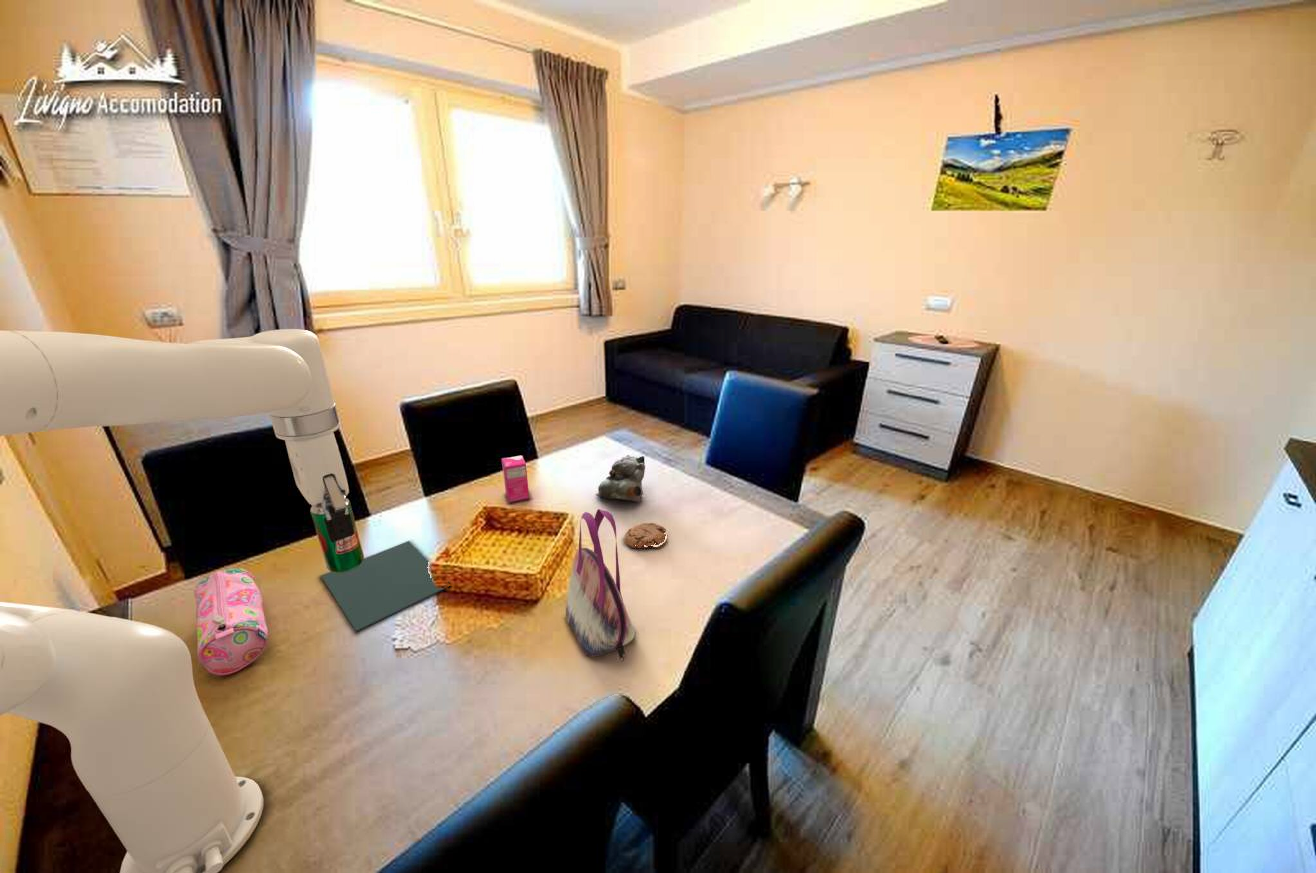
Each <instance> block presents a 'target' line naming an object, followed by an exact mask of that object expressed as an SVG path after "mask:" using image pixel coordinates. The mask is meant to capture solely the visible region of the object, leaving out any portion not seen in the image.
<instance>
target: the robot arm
mask: <svg viewBox="0 0 1316 873" xmlns="http://www.w3.org/2000/svg"><path fill="white" fill-rule="evenodd" d="M324 358H325V357H324V355H323V350H322V347H321V343H320V340H319V338H318V337H317V336H316V334H315V333H313V332H312V331H310V330H306V329H301V328H285V329H284V328H283V329H282V328H281V329H273V330H265V331H262V332H261V331H260V332H258V333H255V334H253V335H252V336H245V337H243V336H242V337H233V338H232V337H231V338H218V339H217V338H216V339H215V338H213V339H203V340H197V341H193V342H190V343H180V342H167V341H166V342H165V341H156V340H144V339H136V338H128V337H120V336H112V335H102V334H96V333H95V334H93V333H82V332H81V333H80V332H69V331H68V332H67V331H50V330H49V331H48V330H47V331H45V330H7V329H6V330H0V437H4V436H13V435H14V436H15V435H21V434H30V433H39V432H50V431H58V430H67V429H68V430H69V429H79V428H90V427H116V426H117V427H118V426H119V427H121V426H133V425H134V426H135V425H144V424H145V425H146V424H154V423H167V422H181V421H198V420H212V419H225V418H236V417H244V416H251V415H260V414H268V415H269V418H270V421H271V426H272V428H273V432H274V435H275V437H276V439H279V440H283V441H284V442H285V446H286V451H287V454H288V459H289V463H290V467H291V471H292V473H293V479H294V481H295V485H296V487H297V488H298V490H299V492H300V493H301V495H302V497H304V499H305V500H306V502H307V503H308V504H309V505H311V506H312V505H313V506H316V505H317V504H319V503H321V505H322V508H323V511H324V514H325V517H326V518H325V519H324V522H325V526H326V529H327V533H328V536H329V539H330V541H331V542H336V541H338V540H341V539H344V538H347V537H349V536H352V535H354V533H355V532H354V528H353V524H352V520H351V517H350V513H349V511H348V508H347V505H346V502H345V499H344V496H346V497H347V496H348V494H349V493H350V489H349V484H348V478H347V474H346V471H345V468H344V464H343V463H344V462H343V459H342V456H341V452H340V450H339V445H338V443H337V440H336V437H335V433H334V432H336V431H338V429H340V427H341V421H340V418H339V414H338V410H337V407H336V402H335V398H334V394H333V390H332V386H331V382H330V379H329V374H328V370H327V366H326V362H325V359H324ZM326 494H328V495H329V497H328V498H323V497H324V495H326ZM343 495H344V496H343ZM329 502H332V506H331V507H330V508H329V509H328V506H327V503H329ZM4 714H9V715H12V716H17V717H21V718H25V719H26V720H28V721H33V722H37V723H40V724H44V725H47V726H51V727H52V728H55V729H56V730H57V731H59V732H61V733H62V734H63V735H64V736H66V738H67V739H68V741H69V744H70V749H71V750H70V759H71V764H72V767H73V770H74V771H75V774H76V776H77V777H78V779H79V781H80V782H81V783H82V785H83V786H84V789H85V790H86V791H87V792H88V793H89V795H90V797H91V798H92V799H93V802H95V804H96V805H97V807H98V809H99V810H100V812H101V813H102V815H103V816H104V818H105V819H106V820H107V822H108V824H109V825H110V827H111V828H112V830H113V832H114V833H115V835H116V836H117V838H118V839H119V841H120V843H122V845H123V847H124V848H125V849H126V853H125V855H124V857H123V860H122V861H121V866H120V870H119V873H219V872H220V871H222V870H223V867H224V866H225V865H226V864H227V863H228V862H229V861H231V859H233V857H235V855H236V854H237V853H238V852H239V851H240V850H241V849H242V848H243V847H244V845H245V844H246V842H247V841H248V840H249V839H250V838H251V836H252V835H253V832H254V831H255V829H256V828H257V826H258V823H259V821H260V820H261V817H262V813H263V810H264V795H263V792H262V789H261V788H260V786H259V784H258V783H257V782H255V780H253V779H251V778H248V777H245V776H235V773H234V772H233V769H232V768H231V765H230V763H229V761H228V759H227V756H226V755H225V752H224V750H223V749H222V748H223V747H222V746H221V744H220V742H219V740H218V737H217V735H216V733H215V731H214V728H213V727H212V724H211V722H210V720H209V719H208V716H207V714H206V712H205V710H204V708H203V705H202V703H201V701H200V698H199V695H198V693H197V689H196V685H195V681H194V675H193V662H192V657H191V652H190V650H189V648H188V646H187V644H186V642H184V640H182V639H181V637H179V636H178V635H176V634H175V633H173V632H171V631H170V630H168V629H165V628H163V627H160V626H157V625H154V624H150V623H146V622H142V621H136V620H132V619H125V618H120V617H116V616H107V615H103V614H99V613H98V614H97V613H92V612H87V611H81V610H76V609H69V608H63V607H62V608H61V607H54V606H53V607H52V606H45V605H44V606H43V605H35V604H25V603H17V602H6V601H0V716H2V715H4Z"/></svg>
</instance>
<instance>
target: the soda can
mask: <svg viewBox="0 0 1316 873" xmlns="http://www.w3.org/2000/svg"><path fill="white" fill-rule="evenodd" d="M343 496H344V495H343ZM328 497H329V495H328V494H326V495H324V497H323V498H328ZM344 499H345V502H346V505H347V508H348V511H349V513H350V517H351V520H352V524H353V528H354V532H355V533H354V535H352V536H349V537H347V538H344V539H341V540H338V541H336V542H331V541H330V539H329V536H328V533H327V529H326V526H325V522H324V519H325V518H326V517H325V514H324V511H323V508H322V505H321V503H319V504H317V505H316V506H313V505H311V507H310V509H309V512H310V517H311V519H312V522H313V526H314V529H315V533H316V536H317V539H318V543H319V546H320V549H321V552H322V555H323V558H324V561H325V566H326V569H327V570H328V571H329V572H331V571H332V572H335V573H344V572H348V571H351V570H353V569H355V568H357V567H358V566H359V565H360V564H361V563H362V561H363V559H364V558H365V554H364V551H363V546H362V543H361V540H360V535H359V532H358V528H357V524H356V520H355V515H354V513H353V510H352V509H353V508H352V505H351V501H350V500H349V498H347V496H344ZM327 506H328V509H329V508H330V507H331V506H332V502H329V503H327Z"/></svg>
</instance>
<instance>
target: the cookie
mask: <svg viewBox="0 0 1316 873" xmlns="http://www.w3.org/2000/svg"><path fill="white" fill-rule="evenodd" d="M665 532H666V534H667V528H666V527H664V526H663V525H661V524H657V523H656V522H655V523H654V522H643V523H640V524H636V525H634V526H633V527H631V528H628V529H627V530H626V532H625V534H624V538H625V539H624V541H625V544H626V545H627V546H629V547H630V548H633V549H647V548H649V547H644V545H646V546H651V545H654V544H655V543H656V544H655V545H659V544H660V543H662V542H664V540H665V536H666V534H664V533H665ZM668 539H669V537H668V538H667V540H666V542H665V543H664V544H662V545H660V546H658V547H653V546H652V547H651V548H654V549H659V548H661V547H663V545H665V544H666V543H667V542H668ZM635 545H636V546H635Z"/></svg>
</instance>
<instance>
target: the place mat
mask: <svg viewBox="0 0 1316 873" xmlns="http://www.w3.org/2000/svg"><path fill="white" fill-rule="evenodd" d="M428 562H430V561H429V560H428V559H427V558H426V557H425V556H424V555H423V554H422V553H421V552H420V551H419V550H418V549H417V548H416V547H415V546H414V544H412V543H411V541H409V540H407V541H405V542H402V543H400V544H398V545H395V546H391V547H390V548H388V549H385V550H382V551H380V552H378V553H377V552H376V553H375V554H372V555H369V556H367V557H364V559H363V561H362V563H361V564H360V565H359V566H358V567H357V568H355V569H353V570H351V571H348V572H344V573H335V572H332V571H329V572H327V573H324V574H322V575H320V578H321V579H322V581H323V582H324V584H325V586H326V587H327V588H328V591H329V592H330V594H331V596H332V597H333V599H334V600H335V602H336V603H337V604H338V606H339V607H340V609H341V610H342V612H343V614H344V615H345V617H346V618H347V620H348V622H349V623H350V625H351V627H353V630H354V631H355V632H356V633H359V632H361V631H363V630H364V629H367V628H369V627H370V626H373V625H375V624H378V623H379V622H381V621H383V620H385V619H387V618H389V617H391V616H393V615H395V614H397V613H400V612H402V611H403V610H406V609H407V608H410V607H411V606H414V605H416V604H418V603H420V602H422V601H424V600H426V599H428V598H430V597H432V596H435V595H437V594H439V593H440V592H442V591H443V592H444V590H447V589H448V588H441V587H440V588H439V587H436V586H435V585H434V583H433V581H432V578H430V574H429V573H428V568H427V567H428Z"/></svg>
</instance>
